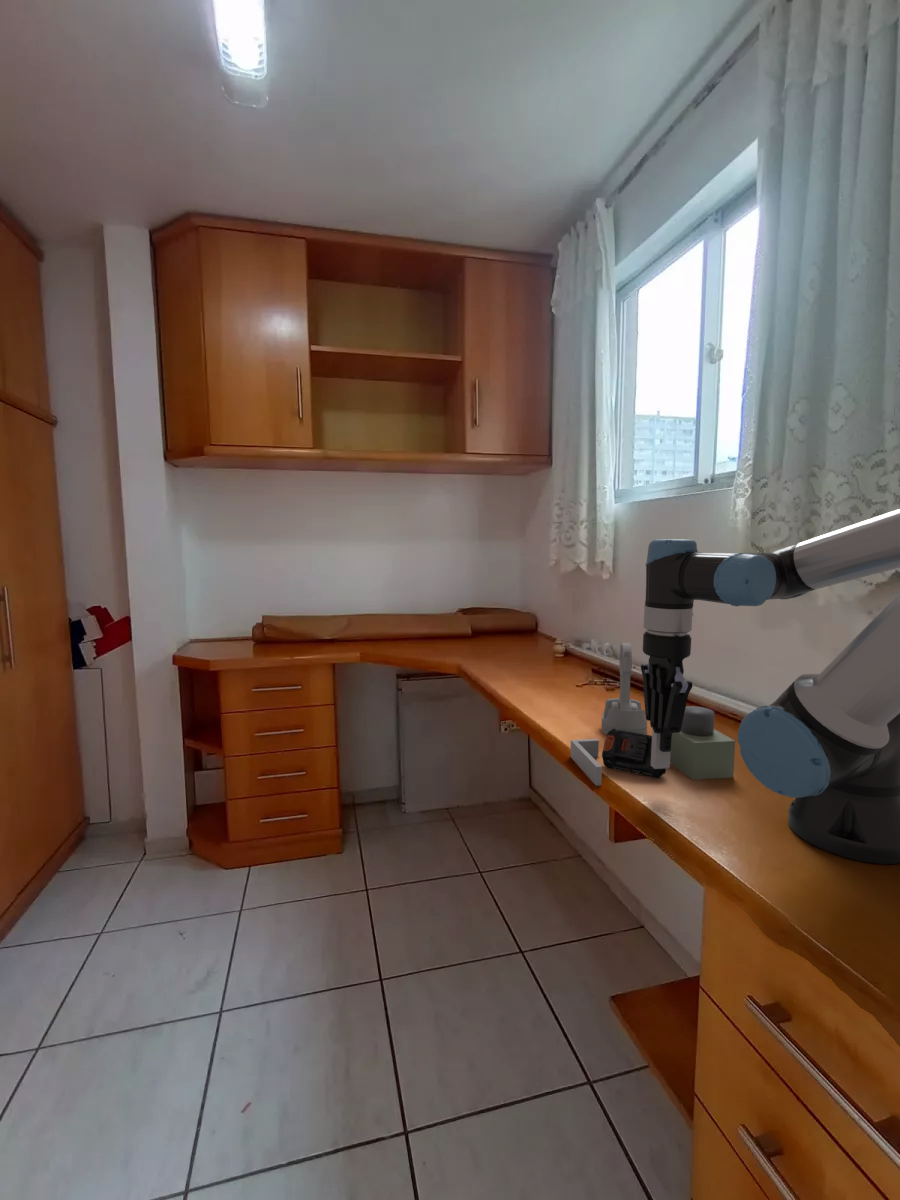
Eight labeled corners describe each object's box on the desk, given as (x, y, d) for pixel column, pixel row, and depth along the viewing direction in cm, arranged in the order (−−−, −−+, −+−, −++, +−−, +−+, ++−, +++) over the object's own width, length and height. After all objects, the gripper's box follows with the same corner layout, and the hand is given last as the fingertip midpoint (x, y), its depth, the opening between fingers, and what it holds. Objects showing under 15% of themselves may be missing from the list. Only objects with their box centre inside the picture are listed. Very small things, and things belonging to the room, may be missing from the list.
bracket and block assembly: (733, 777, 102) (736, 719, 101) (596, 785, 99) (597, 726, 97) (691, 749, 116) (693, 698, 114) (569, 755, 112) (570, 703, 111)
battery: (601, 769, 110) (595, 759, 104) (613, 731, 113) (607, 719, 107) (664, 789, 103) (660, 779, 98) (674, 748, 106) (671, 736, 101)
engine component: (602, 737, 123) (650, 740, 121) (605, 647, 121) (653, 648, 119) (599, 721, 134) (642, 724, 132) (601, 638, 131) (645, 640, 129)
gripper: (711, 638, 86) (702, 782, 89) (668, 625, 99) (661, 751, 102) (665, 639, 85) (658, 784, 88) (628, 625, 98) (622, 752, 101)
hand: (660, 766), depth 95 cm, fingers closed
